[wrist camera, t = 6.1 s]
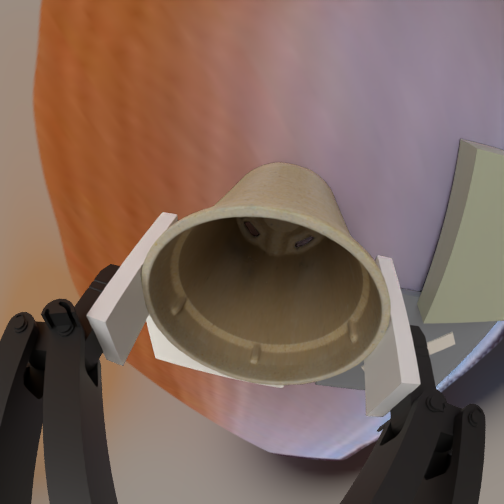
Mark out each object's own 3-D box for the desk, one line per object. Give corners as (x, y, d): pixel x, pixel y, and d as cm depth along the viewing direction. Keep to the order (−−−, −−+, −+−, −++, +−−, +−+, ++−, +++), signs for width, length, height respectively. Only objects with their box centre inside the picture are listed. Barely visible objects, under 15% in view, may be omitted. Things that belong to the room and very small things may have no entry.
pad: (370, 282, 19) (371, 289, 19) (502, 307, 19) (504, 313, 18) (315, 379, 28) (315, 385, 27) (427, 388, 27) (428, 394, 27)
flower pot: (183, 225, 19) (121, 325, 13) (252, 99, 14) (193, 144, 7) (301, 292, 21) (290, 402, 14) (393, 195, 16) (441, 306, 9)
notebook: (460, 138, 12) (477, 148, 11) (545, 164, 11) (562, 175, 9) (417, 303, 19) (423, 323, 17) (495, 303, 18) (504, 320, 16)
